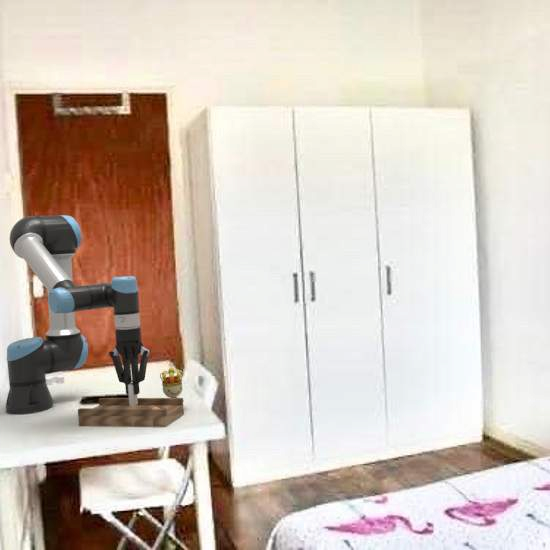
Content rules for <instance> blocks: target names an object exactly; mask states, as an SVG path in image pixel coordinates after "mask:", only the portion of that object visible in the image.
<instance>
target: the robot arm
mask: <svg viewBox="0 0 550 550" xmlns="http://www.w3.org/2000/svg"><path fill="white" fill-rule="evenodd" d="M82 240H83V239H82V230H81V228H80V225H79V223H78V222H77V220H76V219H75V218H74V217H72V216H71V215H60V214H58V215H57V214H56V215H30V216H29V215H28V216H25V217H23V218H21V219H19V220H18V221H17V222H16V223H15V224H14V225H13V226H12V228H11V230H10V234H9V244H10V248H11V249H12V251H13V252H14V254H15V255H16V256H17V257H19V258H20V259H23V260H24V262H26V264H27V265H28V267H29V268H30V269H31V271H32V272H33V273H34V274H35V277H37V279H38V280H39V281H40V282H41V283H42V285H43V286H44V288H45V289H46V290H47V303H48V304H47V306H48V318H49V319H48V321H49V329H48V330H47V332H46V333H45V340H44V339H43V338H42V337H41V336H33V337H28V338H22V339H20V340H19V339H18V340H16V341H14V342H12V343H10V344H8V346H7V348H6V362H7V373H8V383H9V389H8V390H9V391H8V394H7V398H6V402H5V413H7V414H10V415H11V414H13V415H24V414H32V413H37V412H42V411H45V410H46V411H47V410H48V409H51V408H53V406H54V399H53V397H52V394H51V392H50V390H49V387H48V385H46V374H50V373H55V372H61V371H62V372H65V371H66V372H67V371H72V370H75V369H79V368H82V367H83V366H84V365H85V363H86V361H87V359H88V355H89V344H88V342H87V338H86V337H85V336H84V335H82V334H81V330H80V329H78V327H77V326H76V314H75V313H76V312H77V313H78V312H81V311H88V310H89V311H90V310H98V309H99V310H100V309H107V308H113V318H114V328H116V329H115V331H114V332H115V342H116V345H115V348H114V349H113V350H111V351H109V352H108V355H109V356H110V358H111V359H112V362H113V365H114V370H115V372H116V376H117V379H118V382H119V383H123V384H124V385H125V394H126V395H128V398H129V406H135V405H137V404H138V398H139V397H138V395H139V394H140V391H141V390H140V383H141V382H143V381H145V378H146V373H147V366H148V359H149V356H150V354H151V349H150V348H149V349H147V348H146V347H144V345H143V343H142V330H141V327H140V325H141V317H140V303H139V301H140V300H139V299H140V298H139V287H138V281H137V278H136V277H135V276H133V275H128V276H115V277H112V278H111V282H110V283H109V282H100V283H97V284H87V285H86V284H85V285H76V283H75V282H74V278H73V265H72V263H73V261H72V259H73V257H74V256H75V255H76V249H78V248H79V247H80V246H81V243H82ZM139 355H141V357H140V361H139Z"/></svg>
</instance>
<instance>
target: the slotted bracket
mask: <svg viewBox="0 0 550 550" xmlns="http://www.w3.org/2000/svg"><path fill="white" fill-rule="evenodd" d="M56 383H58V385H61V384H65V376H64V375H63V371H61V372H55V373H50V374H46V385H47V386H51V385H53V384H56Z"/></svg>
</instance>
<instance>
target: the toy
mask: <svg viewBox="0 0 550 550" xmlns="http://www.w3.org/2000/svg"><path fill="white" fill-rule="evenodd" d="M168 366H170V367H169V369H168V370H164V371H161V373H160V374H159V377H160V379H161V381H162V382H161V386H162V393H163V394H164V395H165V396H166V398H179V396H180V395H181V394H182V392H183V381H182V380H183V379H182V378H183V376H184V372H183V371H182V370H181V369H180V370H179V369H175V368H172V362H171V363H169V364H168ZM167 374H168V376H167ZM175 374H176V375H175ZM183 403H184V399H183Z"/></svg>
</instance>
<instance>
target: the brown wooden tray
mask: <svg viewBox="0 0 550 550" xmlns="http://www.w3.org/2000/svg"><path fill="white" fill-rule="evenodd" d="M137 398H138V404H137V405H135V406H129V397H102V398H101V397H100V398H99V399H98V405H97V406H95V407H94V408H83V407H82V408H80V407H79V408H78V409H77V416H78V417H77V418H78V419H77V420H78V426H79V427H147V428H148V427H150V428H151V427H153V428H154V427H161V428H163V427H165V428H166V427H168V426H170V425H171V424H172V423H174V422H175V421H176V420H178V418H181V416H183V415H184V414H185V410H184V402H183V400H184V398H183V397H178V398H170V397H137ZM154 407H158V408H160V409H152V408H154Z"/></svg>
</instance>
